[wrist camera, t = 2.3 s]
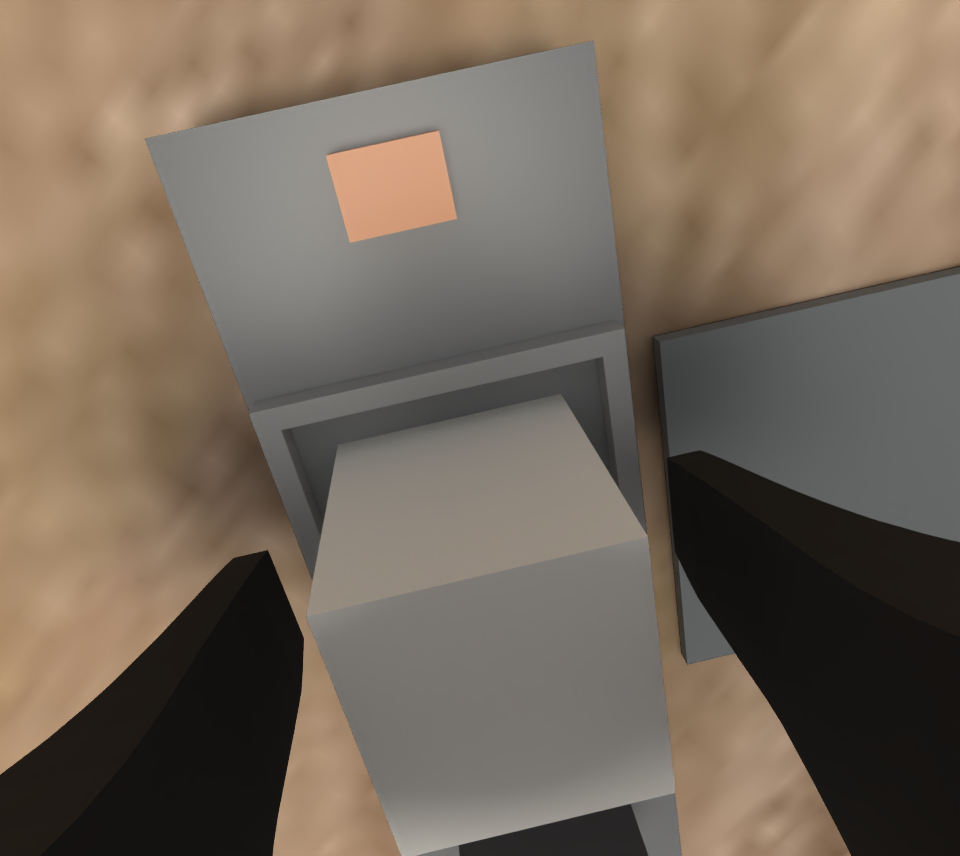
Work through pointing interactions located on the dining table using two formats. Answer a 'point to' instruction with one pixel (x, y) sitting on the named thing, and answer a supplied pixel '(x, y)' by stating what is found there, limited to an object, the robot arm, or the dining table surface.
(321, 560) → the block
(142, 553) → the dining table surface
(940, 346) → the felt mat
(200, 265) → the power strip
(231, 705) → the robot arm
